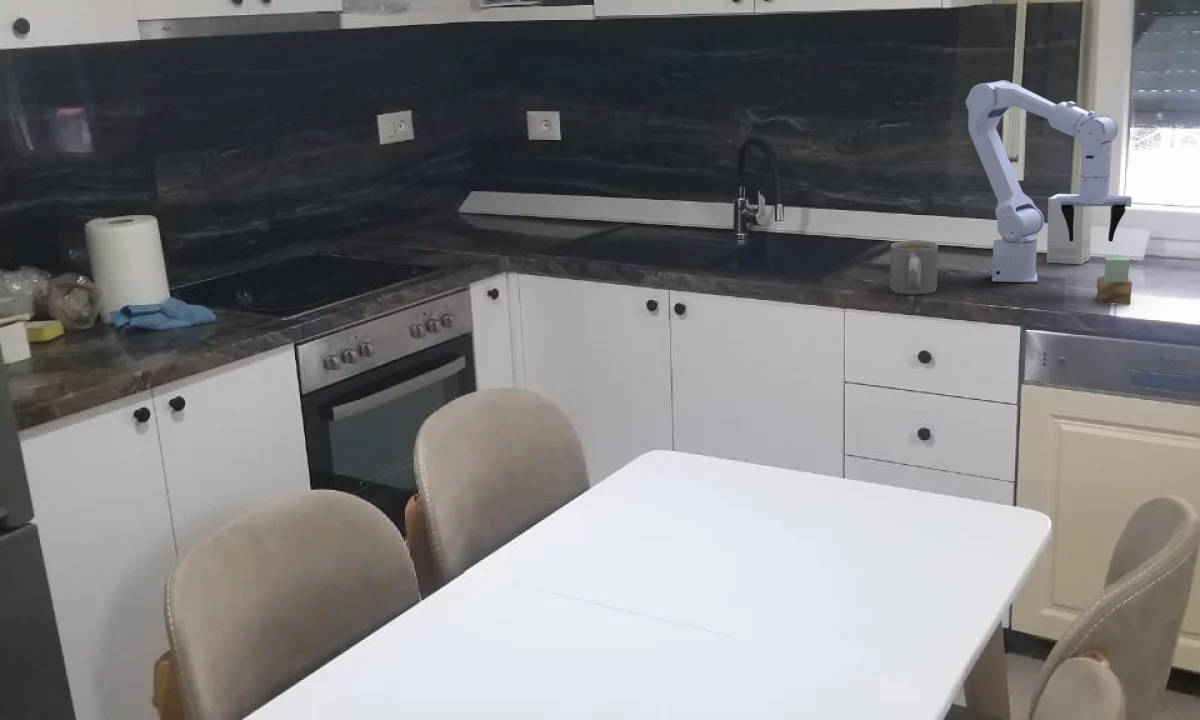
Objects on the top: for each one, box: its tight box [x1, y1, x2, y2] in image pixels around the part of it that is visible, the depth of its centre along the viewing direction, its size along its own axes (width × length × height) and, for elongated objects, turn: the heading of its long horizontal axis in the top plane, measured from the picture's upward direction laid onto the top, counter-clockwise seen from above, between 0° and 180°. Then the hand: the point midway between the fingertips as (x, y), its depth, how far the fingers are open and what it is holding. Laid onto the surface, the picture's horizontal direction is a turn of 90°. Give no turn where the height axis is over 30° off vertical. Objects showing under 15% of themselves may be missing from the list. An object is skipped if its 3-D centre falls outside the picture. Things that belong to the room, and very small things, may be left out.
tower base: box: [1096, 289, 1132, 305], centre depth 241 cm, size 6×6×2 cm
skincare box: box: [1046, 193, 1093, 266], centre depth 274 cm, size 8×7×16 cm
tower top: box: [1096, 275, 1133, 295], centre depth 240 cm, size 6×6×2 cm
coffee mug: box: [889, 240, 939, 294], centre depth 256 cm, size 13×10×10 cm
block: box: [1103, 254, 1130, 282], centre depth 239 cm, size 4×4×4 cm
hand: (1090, 240), depth 248 cm, fingers open, 7 cm apart
